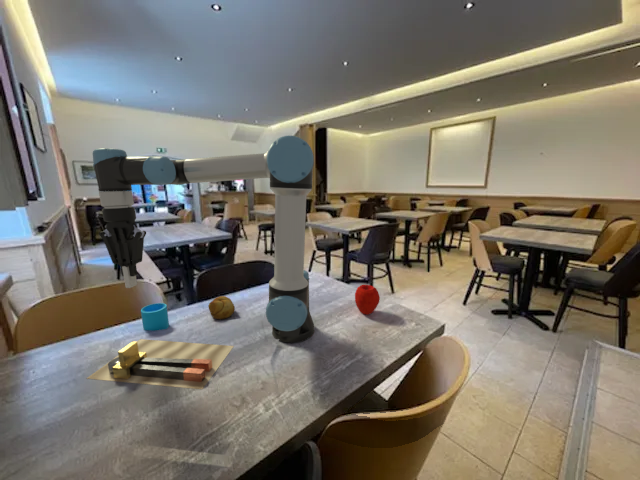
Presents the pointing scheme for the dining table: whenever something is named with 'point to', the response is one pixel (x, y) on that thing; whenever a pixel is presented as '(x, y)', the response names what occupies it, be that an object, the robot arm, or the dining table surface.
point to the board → (174, 352)
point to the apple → (366, 299)
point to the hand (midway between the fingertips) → (131, 286)
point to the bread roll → (221, 307)
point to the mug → (155, 317)
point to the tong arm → (178, 363)
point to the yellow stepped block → (127, 360)
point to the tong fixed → (163, 371)
